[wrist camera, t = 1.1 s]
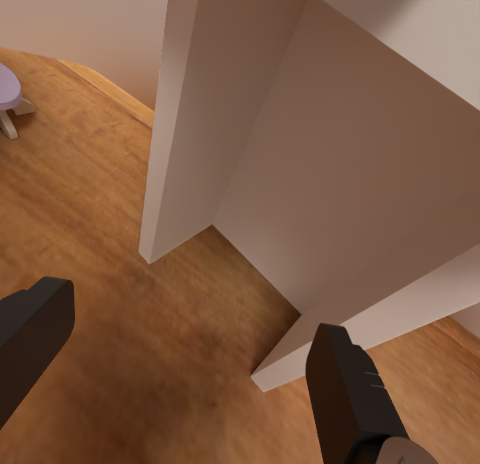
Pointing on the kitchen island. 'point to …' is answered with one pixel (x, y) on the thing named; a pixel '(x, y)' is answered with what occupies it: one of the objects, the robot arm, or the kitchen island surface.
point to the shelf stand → (325, 157)
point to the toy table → (11, 100)
